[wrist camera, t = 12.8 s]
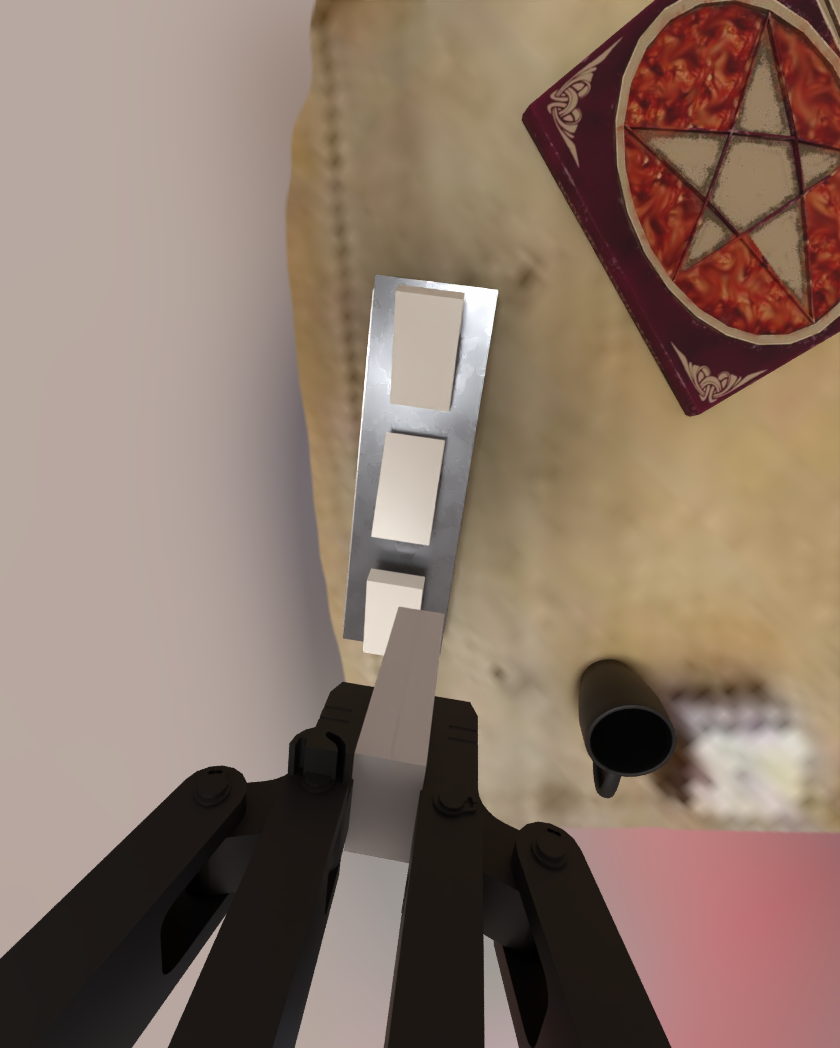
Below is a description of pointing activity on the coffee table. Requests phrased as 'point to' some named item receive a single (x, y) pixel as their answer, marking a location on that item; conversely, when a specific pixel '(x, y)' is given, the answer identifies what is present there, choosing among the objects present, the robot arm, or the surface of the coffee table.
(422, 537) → the white rectangular block
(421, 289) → the block
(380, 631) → the block
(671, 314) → the book
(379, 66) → the coffee table surface
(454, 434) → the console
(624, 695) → the mug
